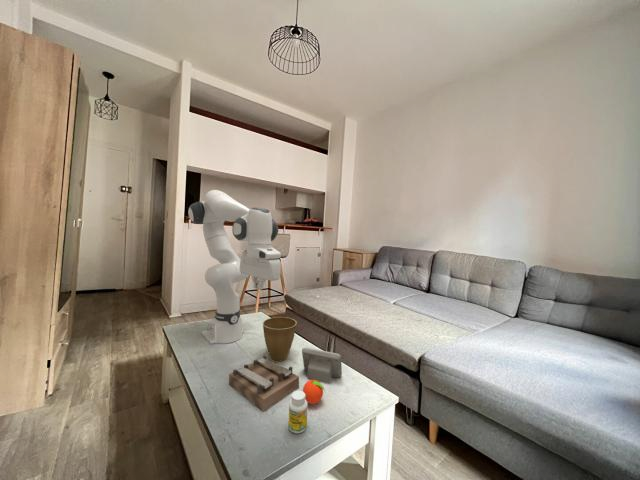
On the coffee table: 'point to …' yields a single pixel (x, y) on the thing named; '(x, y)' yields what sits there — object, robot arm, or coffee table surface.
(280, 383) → the strap base
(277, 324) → the plant pot
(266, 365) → the strap
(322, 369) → the digital clock
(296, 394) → the supplement bottle
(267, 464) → the coffee table surface
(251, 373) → the near strap
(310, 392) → the clementine
